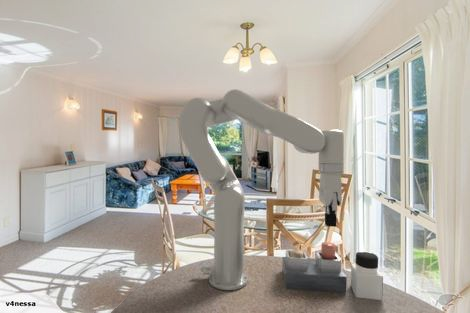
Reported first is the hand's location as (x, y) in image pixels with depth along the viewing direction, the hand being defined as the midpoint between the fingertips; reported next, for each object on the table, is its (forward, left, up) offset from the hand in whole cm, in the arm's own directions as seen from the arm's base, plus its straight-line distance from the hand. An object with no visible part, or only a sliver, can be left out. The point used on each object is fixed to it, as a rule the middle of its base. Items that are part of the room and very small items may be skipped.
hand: (330, 225), depth 85 cm
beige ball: (-11, 0, -13) cm, 17 cm away
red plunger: (-1, 0, -10) cm, 10 cm away
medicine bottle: (+9, -5, -19) cm, 22 cm away
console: (-6, 0, -19) cm, 19 cm away
